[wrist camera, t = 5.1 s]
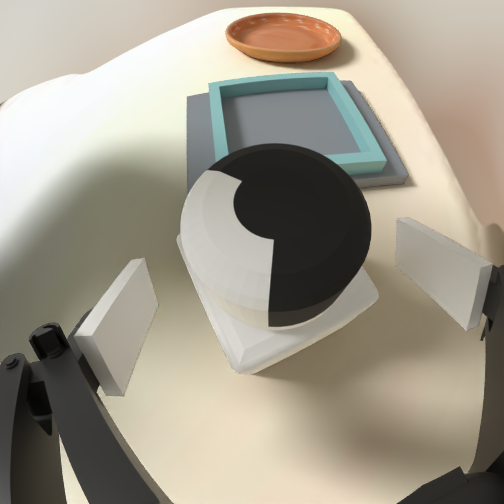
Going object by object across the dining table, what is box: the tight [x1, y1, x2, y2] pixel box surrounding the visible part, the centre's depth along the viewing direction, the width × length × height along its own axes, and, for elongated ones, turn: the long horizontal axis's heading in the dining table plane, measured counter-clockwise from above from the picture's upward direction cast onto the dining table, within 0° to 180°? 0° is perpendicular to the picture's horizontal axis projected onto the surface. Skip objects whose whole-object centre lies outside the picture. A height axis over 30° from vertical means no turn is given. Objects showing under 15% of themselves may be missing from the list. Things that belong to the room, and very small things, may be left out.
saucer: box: [225, 13, 341, 63], centre depth 33 cm, size 16×16×3 cm
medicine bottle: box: [177, 143, 379, 375], centre depth 14 cm, size 7×7×12 cm
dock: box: [187, 72, 408, 194], centre depth 24 cm, size 18×14×3 cm
